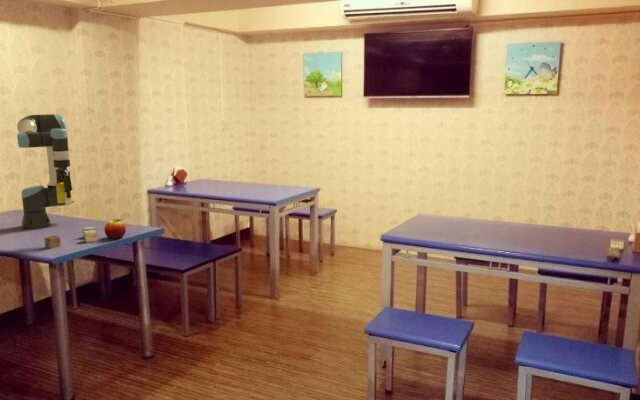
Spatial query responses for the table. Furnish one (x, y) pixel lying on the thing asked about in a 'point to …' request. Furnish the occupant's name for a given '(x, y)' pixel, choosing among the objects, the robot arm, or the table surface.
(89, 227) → the sage-green cube
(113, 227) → the fruit
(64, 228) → the table surface
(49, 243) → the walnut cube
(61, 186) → the supplement box
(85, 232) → the maple cube
